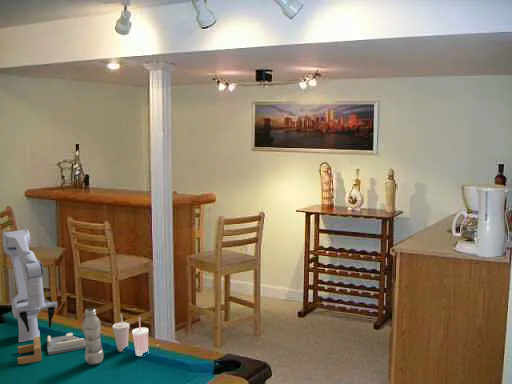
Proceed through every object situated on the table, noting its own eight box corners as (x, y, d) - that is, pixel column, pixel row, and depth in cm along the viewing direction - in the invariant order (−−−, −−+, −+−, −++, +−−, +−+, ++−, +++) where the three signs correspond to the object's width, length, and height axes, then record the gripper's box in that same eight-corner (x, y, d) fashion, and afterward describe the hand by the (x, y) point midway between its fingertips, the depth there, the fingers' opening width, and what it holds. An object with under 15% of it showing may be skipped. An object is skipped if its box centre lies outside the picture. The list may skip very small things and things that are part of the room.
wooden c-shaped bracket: (18, 365, 208) (16, 352, 207) (18, 352, 219) (17, 340, 218) (41, 360, 210) (40, 347, 210) (40, 348, 222) (39, 336, 221)
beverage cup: (138, 358, 209) (136, 321, 207) (130, 353, 213) (127, 317, 211) (153, 353, 213) (150, 317, 210) (145, 348, 217) (142, 313, 215)
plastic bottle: (87, 368, 202) (82, 314, 199) (84, 361, 208) (79, 308, 205) (106, 364, 205) (101, 310, 202) (101, 357, 211) (97, 305, 208)
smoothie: (127, 353, 213) (124, 317, 211) (111, 352, 215) (108, 317, 213) (134, 346, 220) (131, 311, 218) (118, 345, 221) (115, 310, 219)
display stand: (46, 341, 228) (46, 333, 227) (91, 333, 234) (90, 325, 234) (48, 355, 215) (47, 346, 214) (94, 346, 221) (94, 338, 221)
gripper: (14, 300, 208) (18, 336, 209) (56, 293, 213) (60, 328, 215) (14, 295, 214) (18, 329, 216) (55, 288, 219) (58, 322, 221)
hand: (39, 328), depth 216 cm, fingers open, 7 cm apart
